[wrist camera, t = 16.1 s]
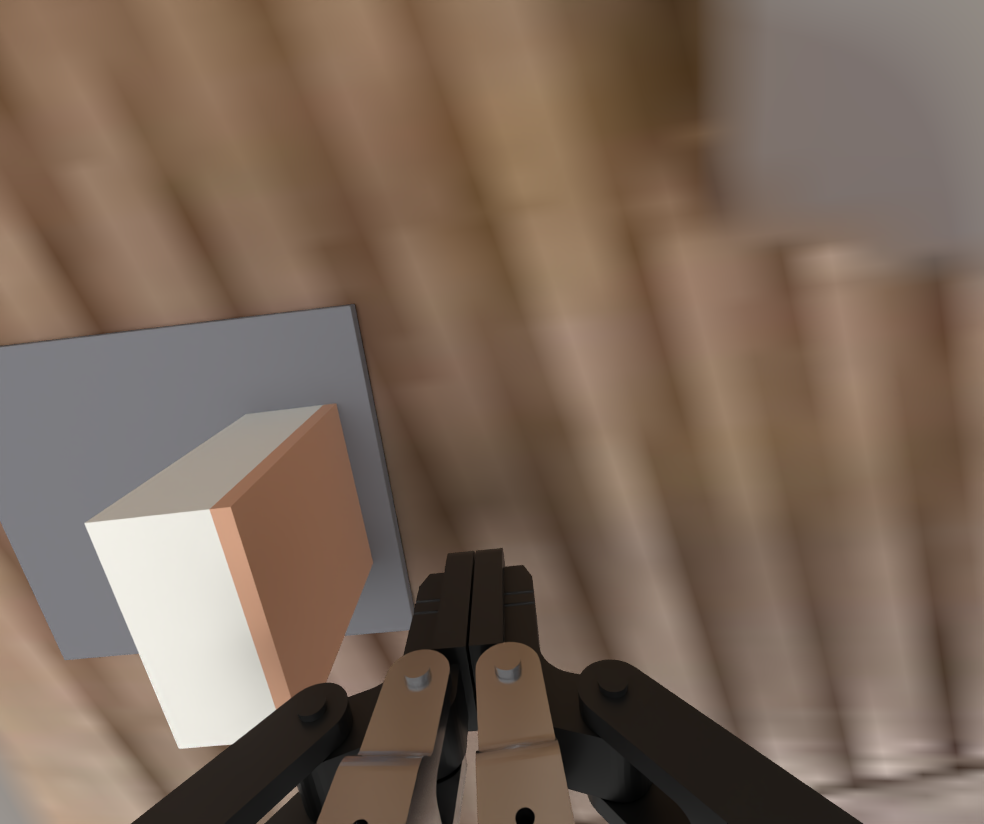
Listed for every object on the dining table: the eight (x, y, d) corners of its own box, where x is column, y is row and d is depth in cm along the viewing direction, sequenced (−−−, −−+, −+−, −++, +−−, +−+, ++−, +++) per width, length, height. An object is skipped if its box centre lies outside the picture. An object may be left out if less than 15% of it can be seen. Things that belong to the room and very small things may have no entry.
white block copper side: (245, 414, 20) (84, 523, 12) (336, 403, 19) (230, 507, 12) (291, 571, 22) (178, 748, 14) (373, 563, 21) (304, 738, 14)
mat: (-60, 353, 20) (-77, 356, 19) (354, 303, 19) (350, 305, 18) (75, 649, 24) (64, 659, 23) (416, 620, 23) (414, 629, 23)
